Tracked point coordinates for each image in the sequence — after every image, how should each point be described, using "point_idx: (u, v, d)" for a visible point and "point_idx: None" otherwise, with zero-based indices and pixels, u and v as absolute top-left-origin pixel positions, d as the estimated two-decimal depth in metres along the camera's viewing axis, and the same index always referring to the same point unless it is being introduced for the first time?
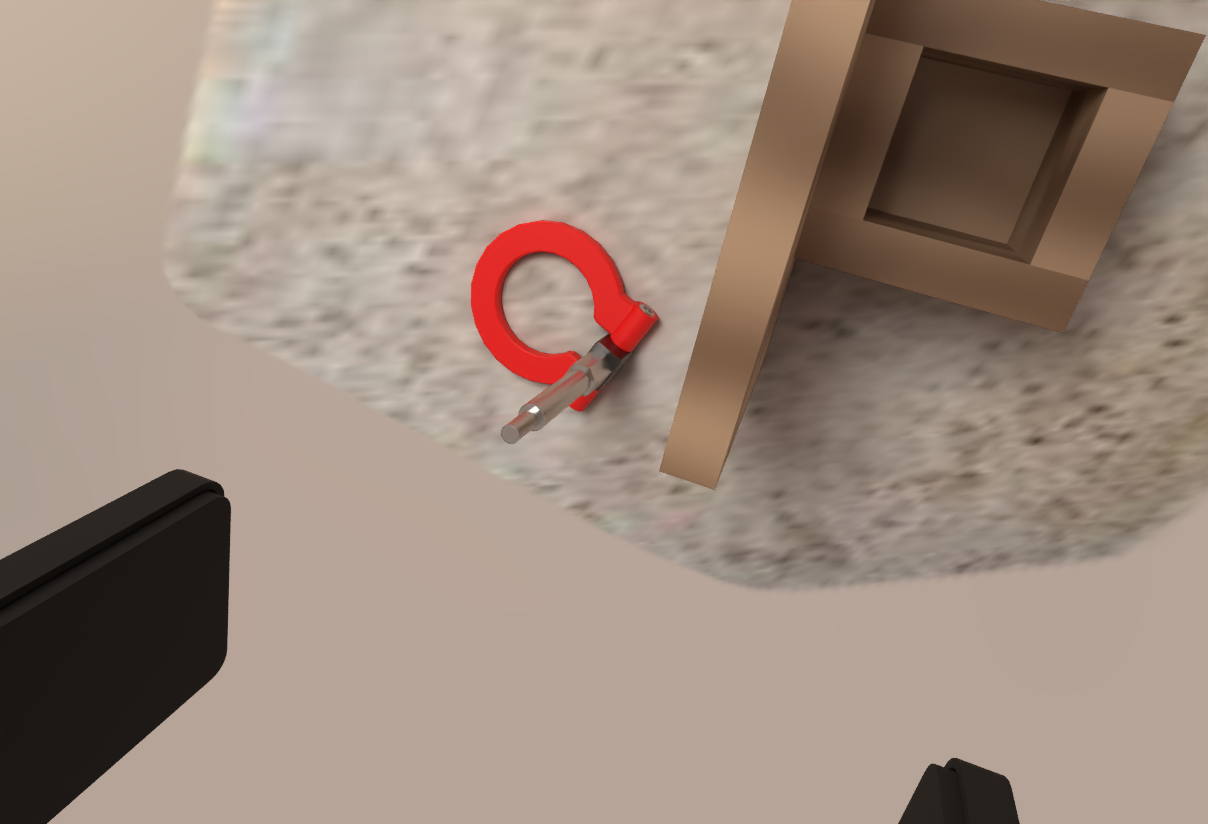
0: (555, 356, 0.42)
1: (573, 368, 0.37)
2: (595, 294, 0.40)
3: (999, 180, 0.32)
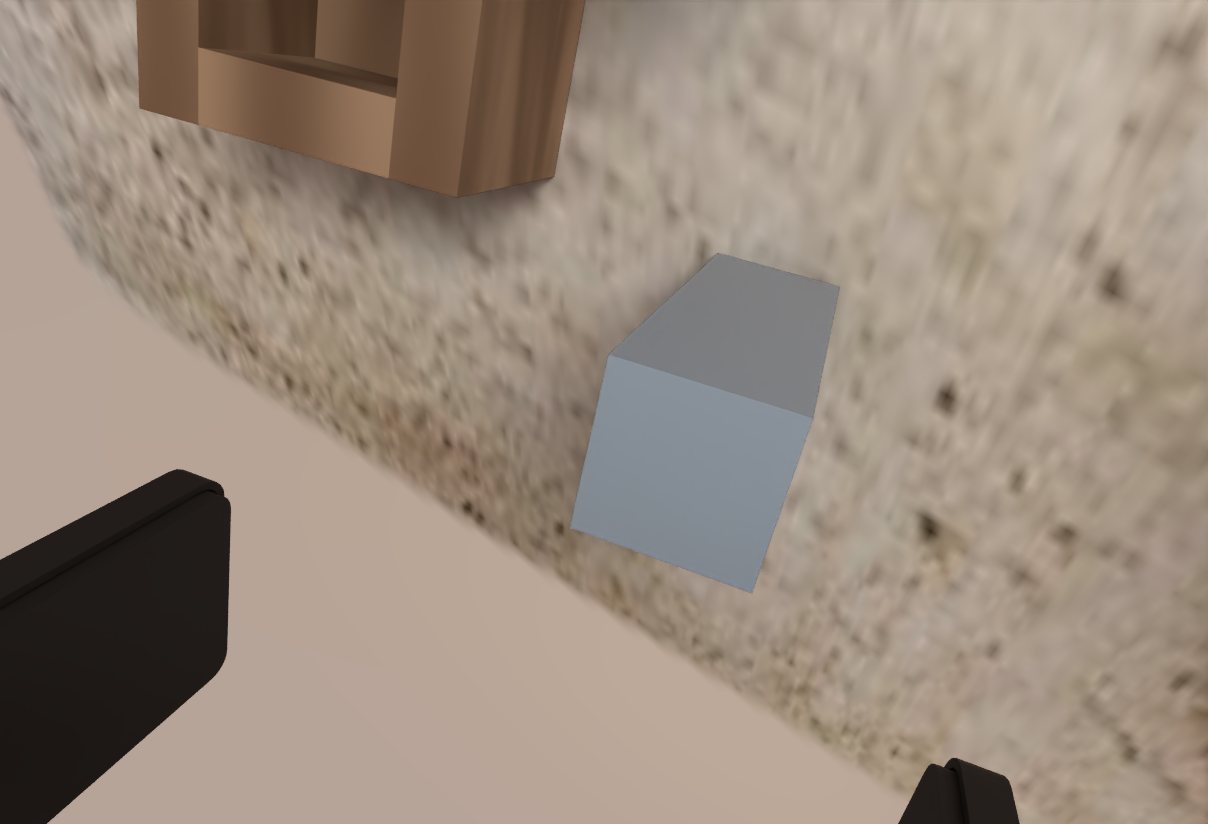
0: None
1: None
2: None
3: (380, 31, 0.25)
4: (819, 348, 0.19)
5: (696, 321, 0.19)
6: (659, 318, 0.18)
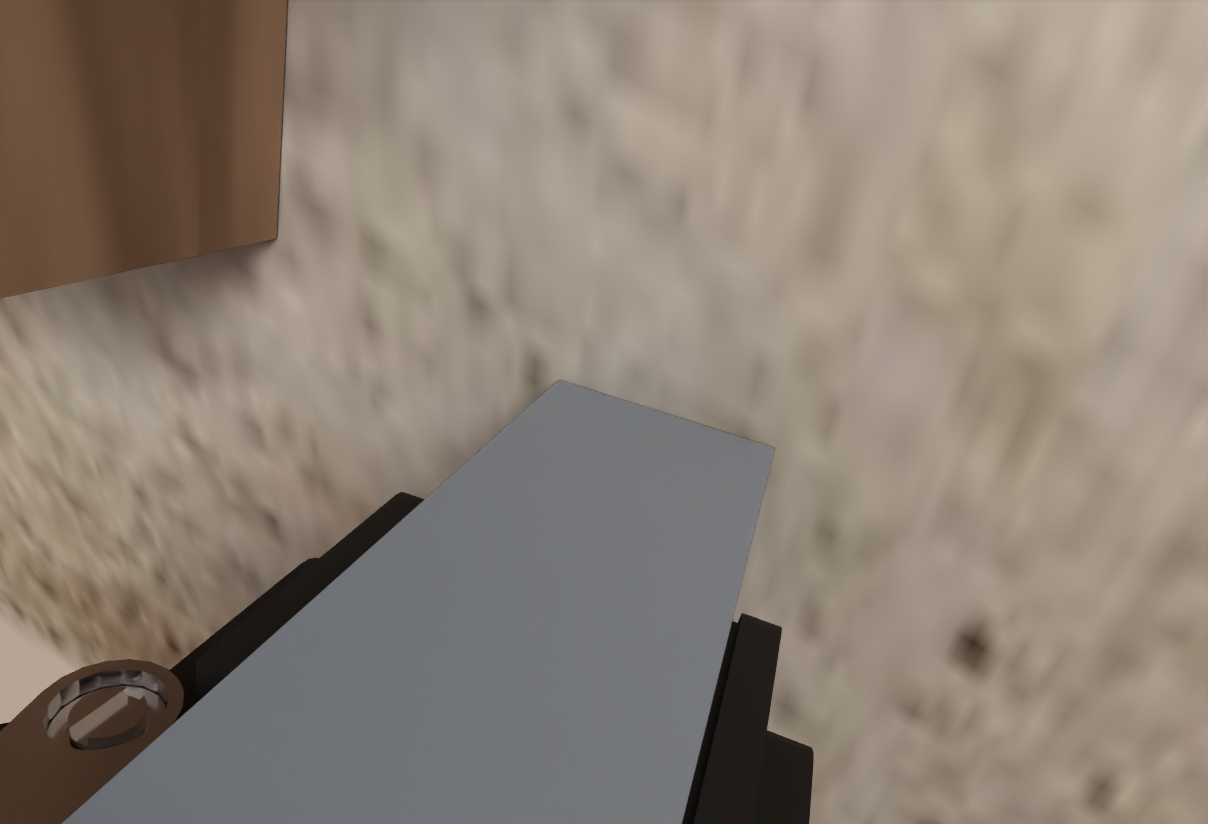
0: None
1: None
2: None
3: None
4: (677, 758, 0.07)
5: (344, 696, 0.07)
6: (223, 708, 0.07)
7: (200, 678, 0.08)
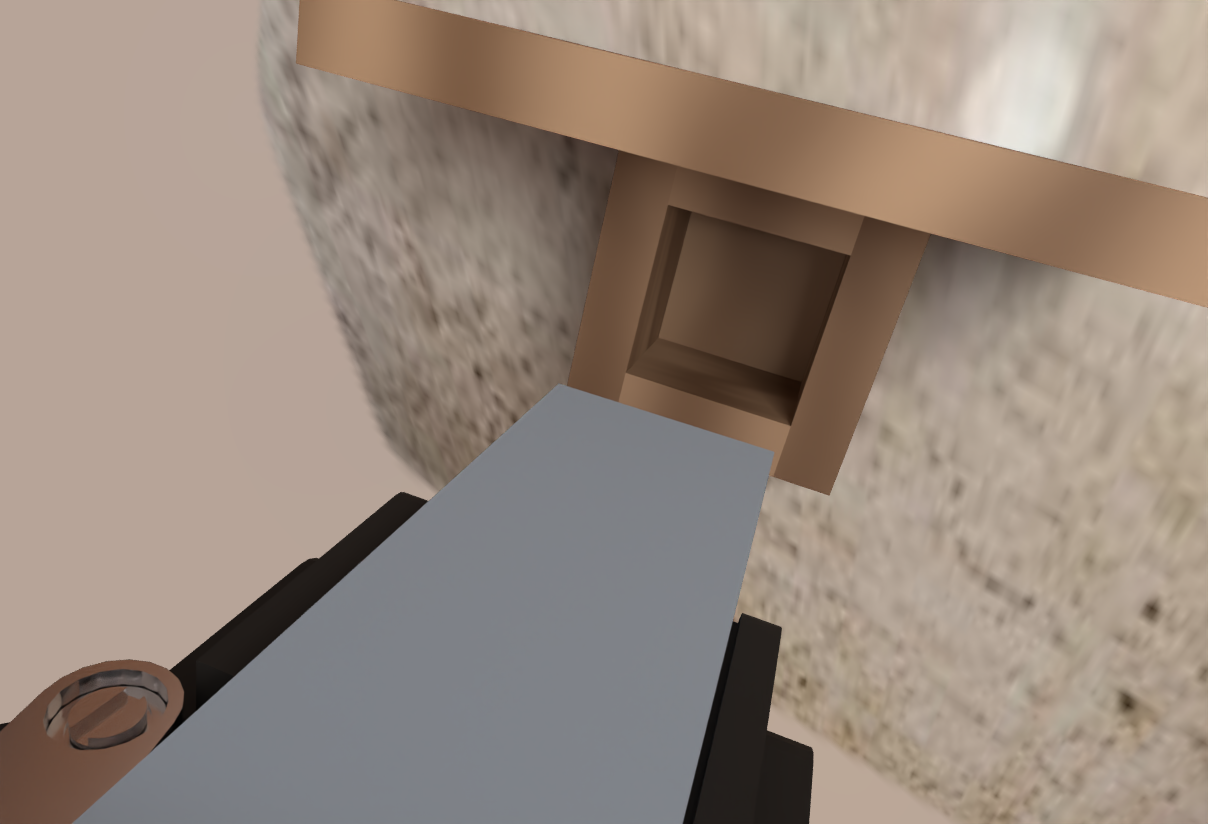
0: None
1: None
2: None
3: (720, 326, 0.32)
4: (677, 765, 0.07)
5: (344, 704, 0.07)
6: (223, 716, 0.07)
7: (200, 678, 0.08)
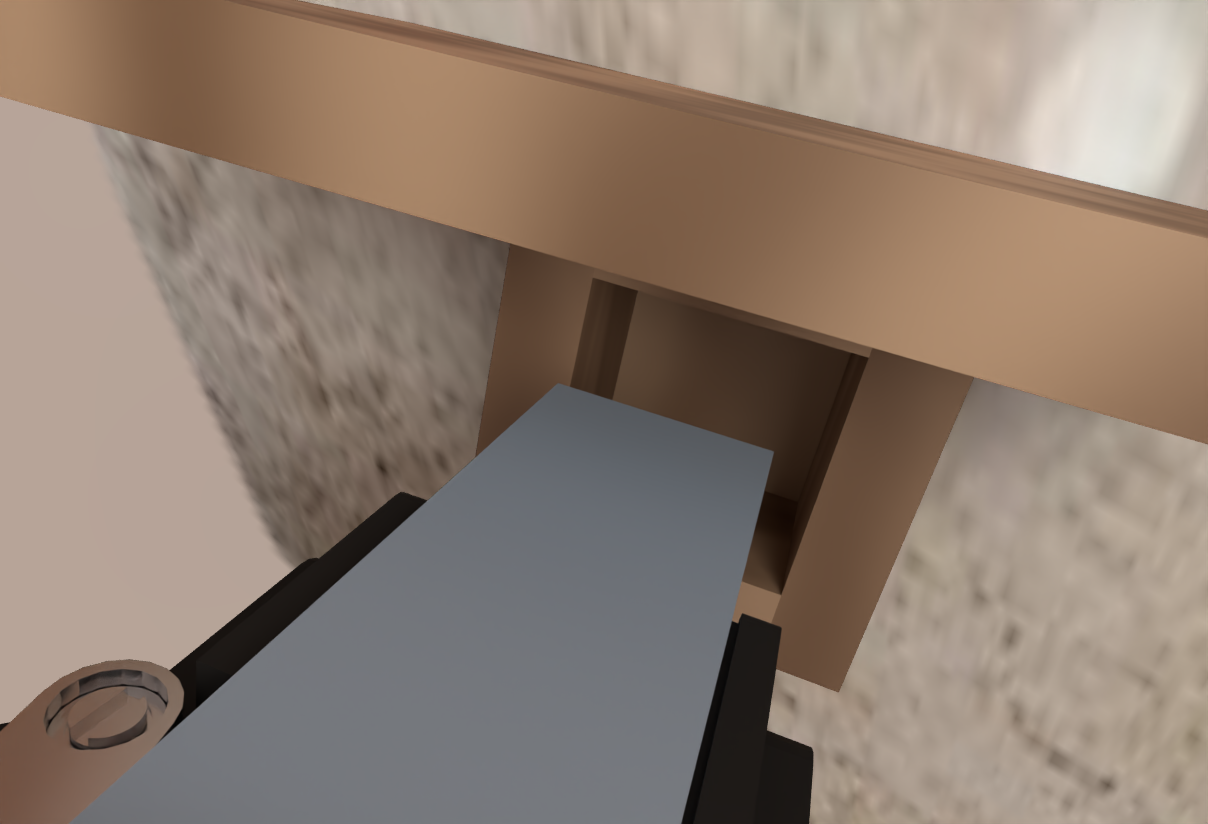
0: None
1: None
2: None
3: None
4: (675, 765, 0.07)
5: (341, 703, 0.07)
6: (221, 715, 0.07)
7: (200, 678, 0.08)
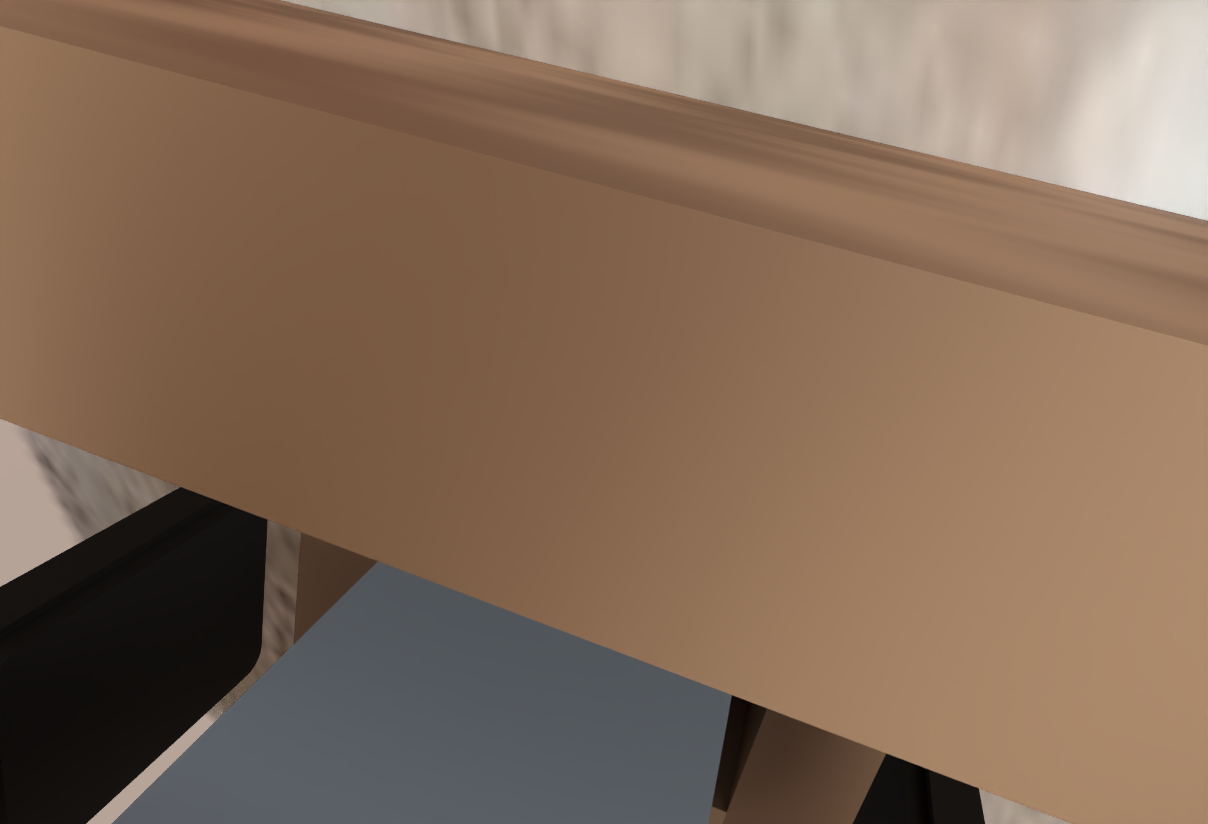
0: None
1: None
2: None
3: None
4: None
5: None
6: (369, 595, 0.08)
7: None
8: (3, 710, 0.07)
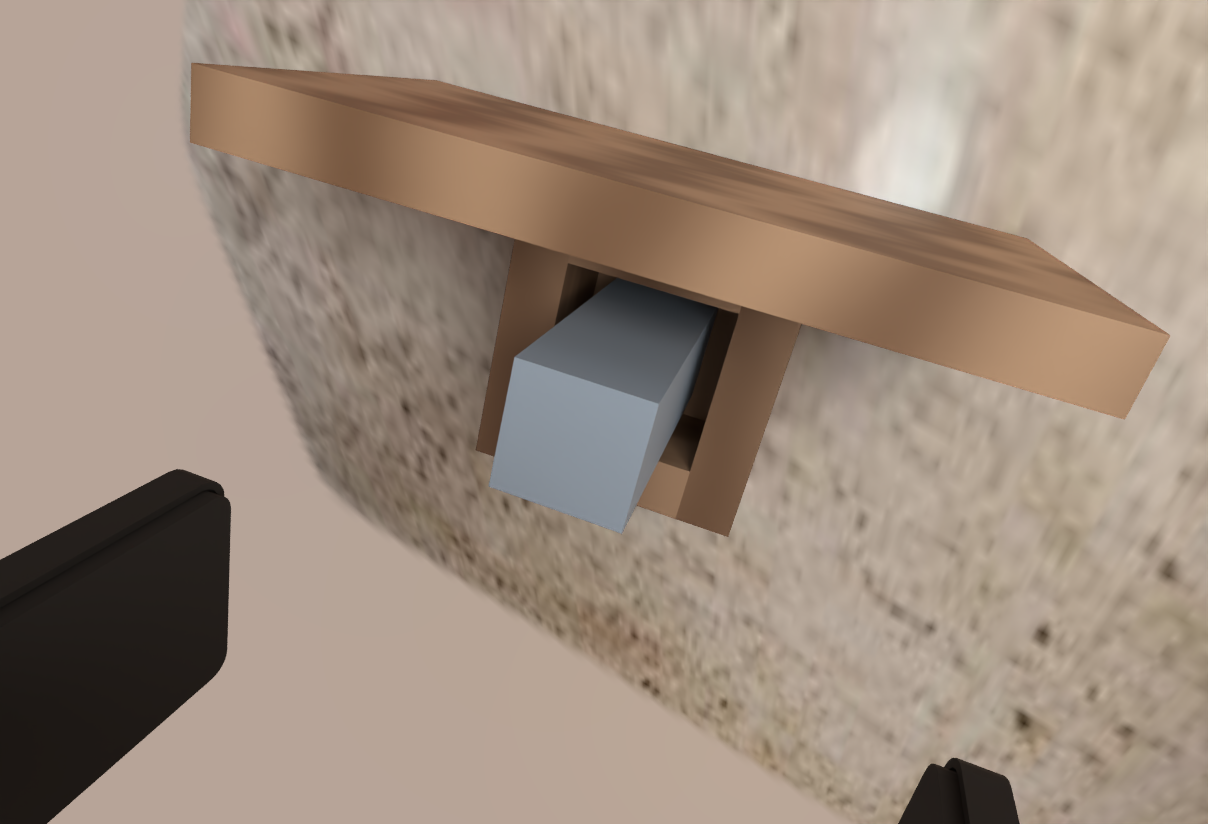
0: None
1: None
2: None
3: None
4: (683, 353, 0.25)
5: (589, 331, 0.24)
6: (560, 329, 0.24)
7: None
8: None
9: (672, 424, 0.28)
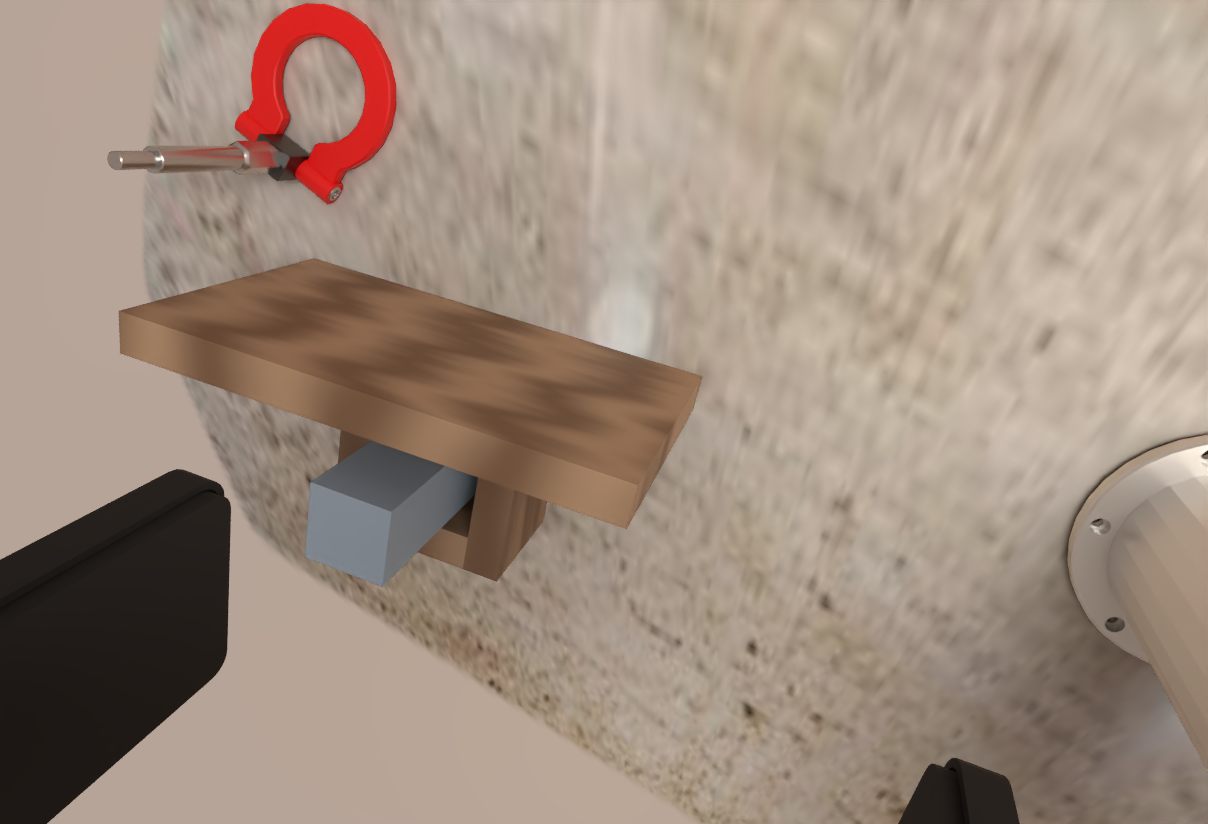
0: (278, 102, 0.44)
1: (244, 152, 0.41)
2: (336, 145, 0.44)
3: None
4: (438, 468, 0.39)
5: (376, 455, 0.38)
6: (356, 455, 0.38)
7: None
8: None
9: (449, 508, 0.41)
